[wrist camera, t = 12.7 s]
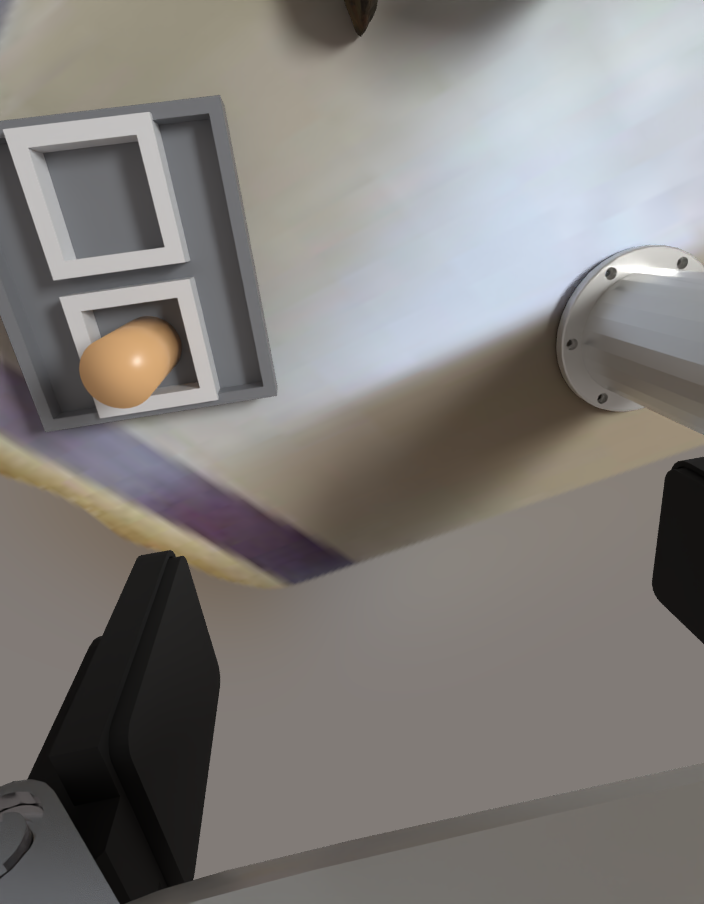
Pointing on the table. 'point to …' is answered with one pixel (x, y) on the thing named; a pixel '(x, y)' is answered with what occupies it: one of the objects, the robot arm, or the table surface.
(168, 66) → the table surface
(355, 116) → the table surface
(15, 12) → the table surface
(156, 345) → the rounded peg
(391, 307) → the table surface
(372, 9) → the hand tool
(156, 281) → the tray
